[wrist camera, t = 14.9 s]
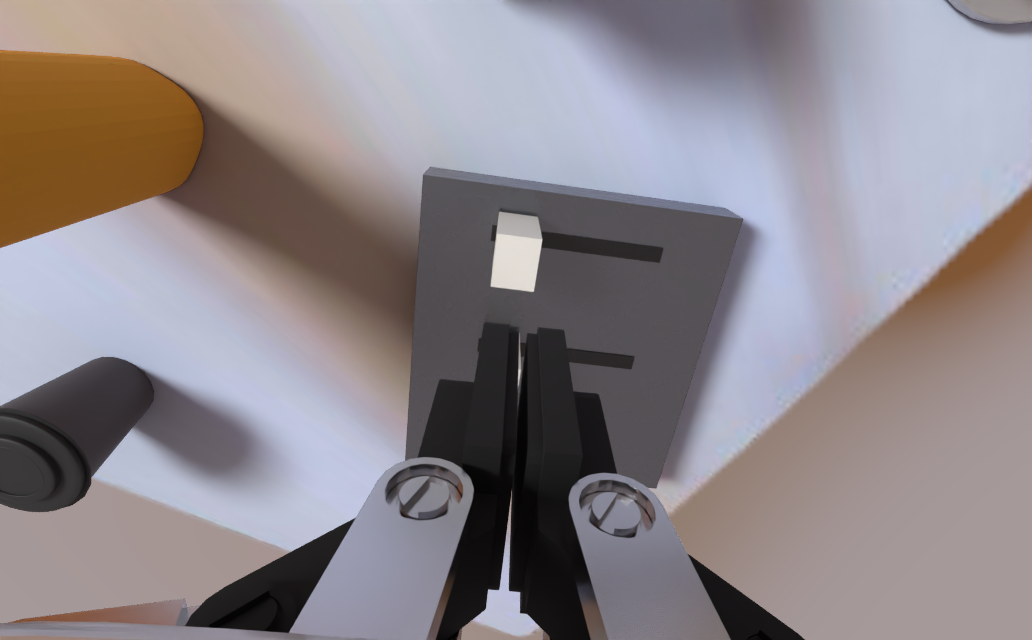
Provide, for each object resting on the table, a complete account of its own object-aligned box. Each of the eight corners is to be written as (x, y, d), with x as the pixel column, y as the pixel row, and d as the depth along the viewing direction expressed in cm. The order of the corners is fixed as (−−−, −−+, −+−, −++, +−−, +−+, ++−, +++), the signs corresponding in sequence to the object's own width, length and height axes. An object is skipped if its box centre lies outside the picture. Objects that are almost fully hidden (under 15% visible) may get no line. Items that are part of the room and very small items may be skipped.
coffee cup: (42, 348, 40) (-97, 428, 31) (145, 333, 39) (34, 411, 30) (93, 434, 43) (-18, 530, 34) (188, 422, 43) (101, 516, 33)
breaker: (537, 216, 32) (542, 239, 28) (530, 262, 33) (533, 292, 29) (499, 211, 32) (497, 233, 28) (493, 258, 33) (490, 286, 29)
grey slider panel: (725, 208, 36) (743, 219, 33) (647, 463, 45) (656, 489, 42) (430, 166, 34) (422, 174, 31) (411, 438, 43) (404, 463, 41)
